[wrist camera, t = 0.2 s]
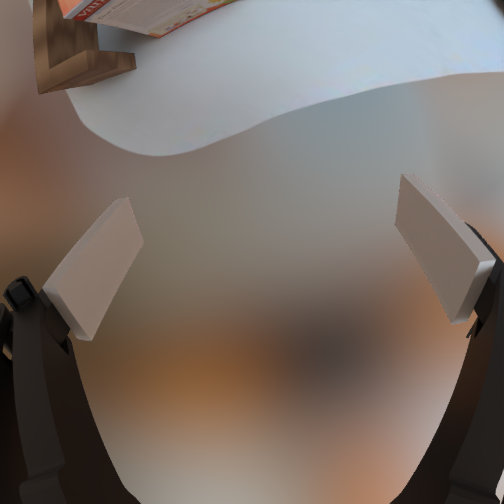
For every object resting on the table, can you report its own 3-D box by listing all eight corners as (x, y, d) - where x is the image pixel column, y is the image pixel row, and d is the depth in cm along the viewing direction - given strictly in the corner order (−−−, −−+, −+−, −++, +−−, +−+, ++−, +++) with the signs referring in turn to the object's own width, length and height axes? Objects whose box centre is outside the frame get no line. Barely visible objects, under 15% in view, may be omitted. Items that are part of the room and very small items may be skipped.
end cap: (82, -2, 23) (34, -12, 13) (128, -23, 22) (84, -44, 12) (90, 84, 33) (38, 94, 23) (136, 68, 31) (88, 69, 22)
